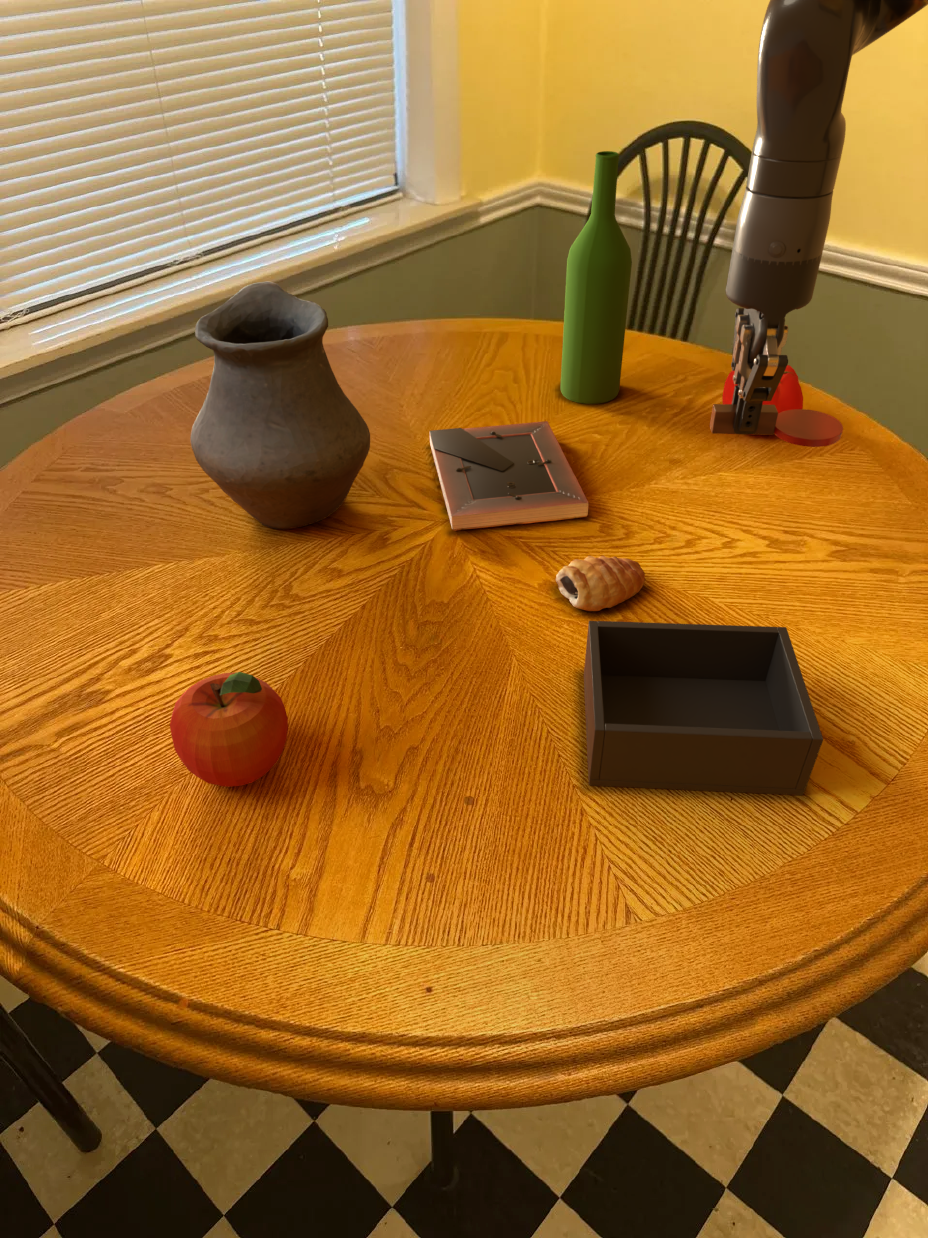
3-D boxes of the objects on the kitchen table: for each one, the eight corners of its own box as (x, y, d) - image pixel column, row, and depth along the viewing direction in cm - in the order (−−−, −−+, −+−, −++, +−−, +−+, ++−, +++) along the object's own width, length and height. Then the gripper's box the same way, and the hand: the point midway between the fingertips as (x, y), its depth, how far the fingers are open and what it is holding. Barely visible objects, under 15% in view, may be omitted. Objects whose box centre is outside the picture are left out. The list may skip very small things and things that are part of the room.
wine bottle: (621, 381, 134) (645, 146, 113) (616, 406, 127) (640, 161, 106) (564, 377, 135) (577, 144, 115) (556, 401, 129) (568, 159, 108)
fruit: (205, 719, 79) (180, 636, 73) (306, 725, 78) (290, 642, 72) (166, 802, 72) (135, 718, 65) (278, 810, 71) (257, 726, 65)
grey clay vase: (207, 565, 98) (152, 353, 82) (211, 472, 114) (165, 280, 99) (386, 541, 101) (367, 331, 85) (364, 453, 117) (345, 264, 102)
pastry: (623, 563, 97) (627, 535, 94) (657, 597, 92) (662, 568, 89) (550, 585, 94) (551, 556, 91) (581, 621, 89) (584, 592, 87)
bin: (770, 681, 81) (786, 626, 77) (803, 795, 71) (823, 739, 67) (583, 674, 83) (588, 620, 78) (588, 785, 72) (594, 729, 68)
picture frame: (430, 446, 119) (452, 532, 102) (429, 430, 117) (451, 514, 100) (547, 435, 120) (587, 518, 104) (547, 419, 119) (588, 500, 102)
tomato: (702, 427, 121) (712, 368, 116) (746, 403, 127) (758, 346, 121) (768, 454, 115) (781, 393, 110) (811, 427, 121) (827, 368, 115)
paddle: (832, 416, 88) (837, 394, 86) (848, 447, 83) (855, 424, 81) (706, 415, 89) (709, 393, 87) (715, 445, 84) (719, 422, 82)
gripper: (842, 270, 69) (795, 461, 80) (805, 222, 80) (767, 397, 91) (747, 269, 70) (713, 459, 81) (722, 222, 80) (695, 396, 91)
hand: (742, 426), depth 86 cm, fingers closed on paddle, 2 cm apart
